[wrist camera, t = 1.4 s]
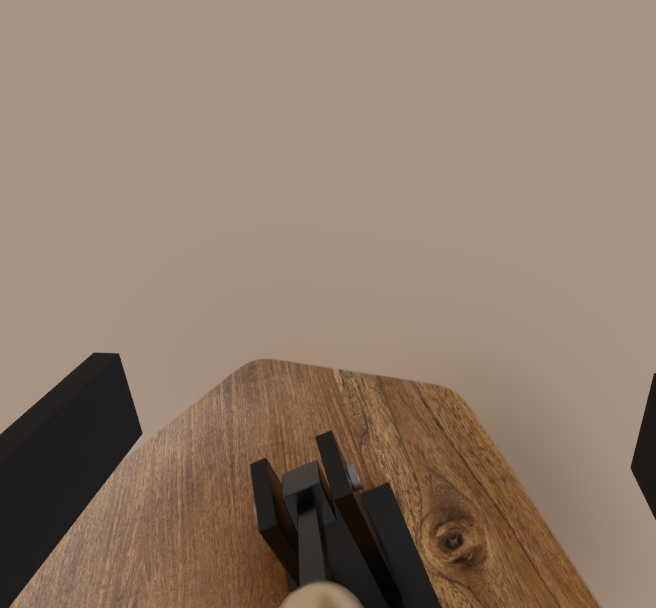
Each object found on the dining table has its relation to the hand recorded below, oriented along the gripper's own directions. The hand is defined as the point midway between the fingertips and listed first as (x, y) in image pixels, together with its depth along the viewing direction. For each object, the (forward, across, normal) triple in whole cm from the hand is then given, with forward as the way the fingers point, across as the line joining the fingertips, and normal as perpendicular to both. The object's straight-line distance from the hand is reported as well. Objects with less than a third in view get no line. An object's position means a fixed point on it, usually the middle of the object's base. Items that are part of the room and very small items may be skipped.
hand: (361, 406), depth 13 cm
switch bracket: (+11, -2, -24) cm, 27 cm away
